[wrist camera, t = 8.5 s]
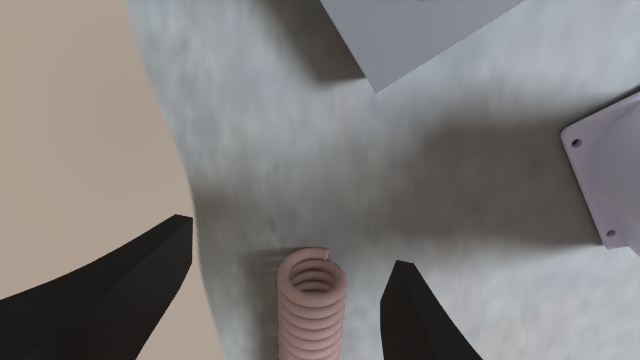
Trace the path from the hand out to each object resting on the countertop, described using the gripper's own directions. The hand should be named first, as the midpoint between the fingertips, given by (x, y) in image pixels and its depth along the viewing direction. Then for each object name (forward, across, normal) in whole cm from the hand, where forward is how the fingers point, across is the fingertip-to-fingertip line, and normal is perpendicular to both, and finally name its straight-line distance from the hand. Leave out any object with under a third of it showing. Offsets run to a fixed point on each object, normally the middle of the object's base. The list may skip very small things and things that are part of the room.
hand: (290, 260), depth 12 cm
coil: (+10, -3, +16) cm, 19 cm away
